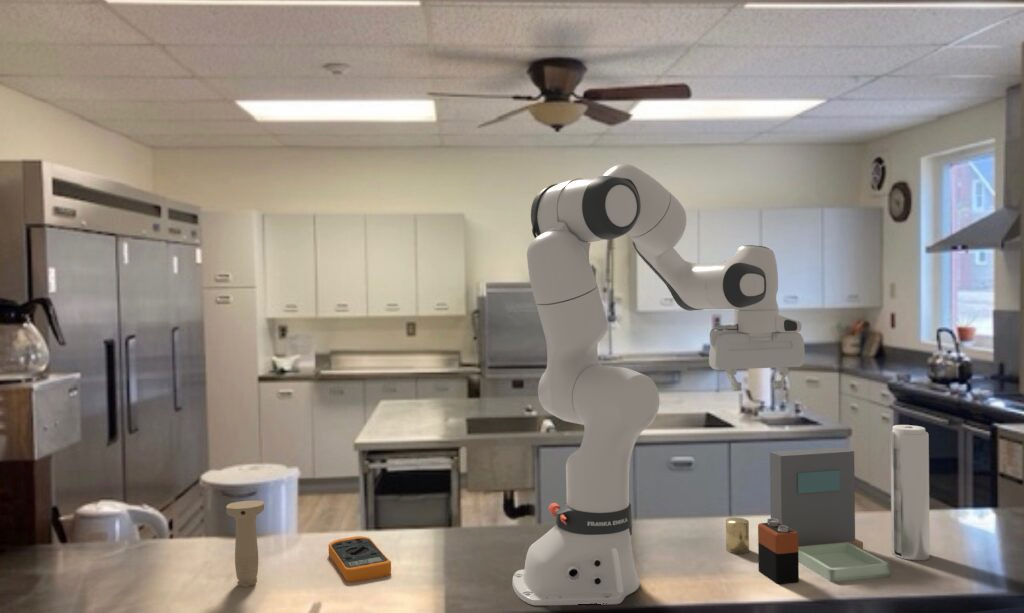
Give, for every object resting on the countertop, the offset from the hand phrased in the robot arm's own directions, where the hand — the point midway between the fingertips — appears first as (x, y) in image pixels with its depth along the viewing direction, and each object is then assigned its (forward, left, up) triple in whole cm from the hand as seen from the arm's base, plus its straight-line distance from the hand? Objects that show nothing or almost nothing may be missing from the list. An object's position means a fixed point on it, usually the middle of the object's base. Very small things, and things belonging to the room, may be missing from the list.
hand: (757, 389), depth 153 cm
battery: (-8, -20, -31) cm, 38 cm away
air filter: (+23, -16, -31) cm, 42 cm away
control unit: (+7, -8, -31) cm, 33 cm away
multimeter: (-83, +4, -32) cm, 88 cm away
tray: (+6, -18, -31) cm, 37 cm away
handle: (-102, -2, -31) cm, 107 cm away
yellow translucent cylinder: (-8, -6, -31) cm, 33 cm away
